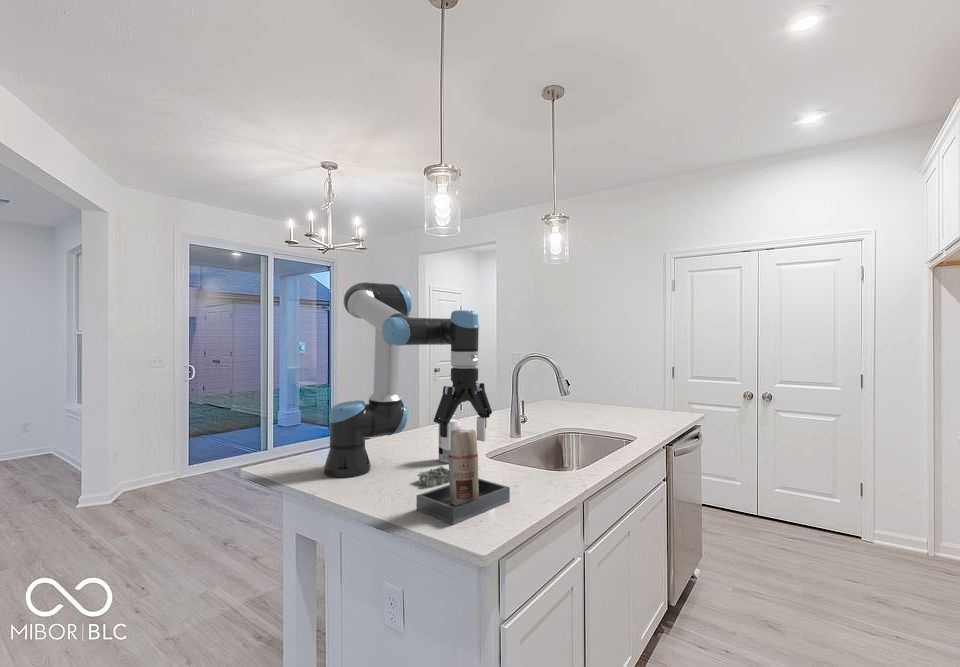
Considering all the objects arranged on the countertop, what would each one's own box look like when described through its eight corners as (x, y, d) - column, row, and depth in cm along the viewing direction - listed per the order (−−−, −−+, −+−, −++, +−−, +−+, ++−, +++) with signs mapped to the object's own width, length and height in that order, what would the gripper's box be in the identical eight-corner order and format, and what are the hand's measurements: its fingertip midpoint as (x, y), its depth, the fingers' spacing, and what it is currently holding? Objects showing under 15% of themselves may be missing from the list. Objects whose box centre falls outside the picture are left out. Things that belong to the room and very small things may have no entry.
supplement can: (438, 458, 176) (438, 418, 177) (460, 457, 177) (460, 418, 177) (438, 464, 168) (438, 422, 168) (461, 463, 169) (461, 422, 169)
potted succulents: (429, 489, 142) (429, 475, 142) (415, 483, 147) (415, 470, 147) (456, 481, 149) (456, 468, 149) (441, 476, 155) (441, 463, 155)
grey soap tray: (453, 525, 114) (453, 508, 114) (416, 510, 124) (416, 495, 124) (509, 501, 131) (509, 487, 131) (473, 490, 140) (473, 476, 140)
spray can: (443, 505, 125) (443, 430, 125) (455, 495, 132) (455, 425, 133) (472, 509, 122) (472, 432, 122) (483, 498, 130) (483, 426, 130)
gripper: (440, 370, 116) (439, 455, 116) (504, 365, 134) (503, 439, 134) (420, 368, 121) (420, 450, 121) (484, 364, 139) (484, 435, 139)
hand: (464, 444), depth 127 cm, fingers open, 13 cm apart
